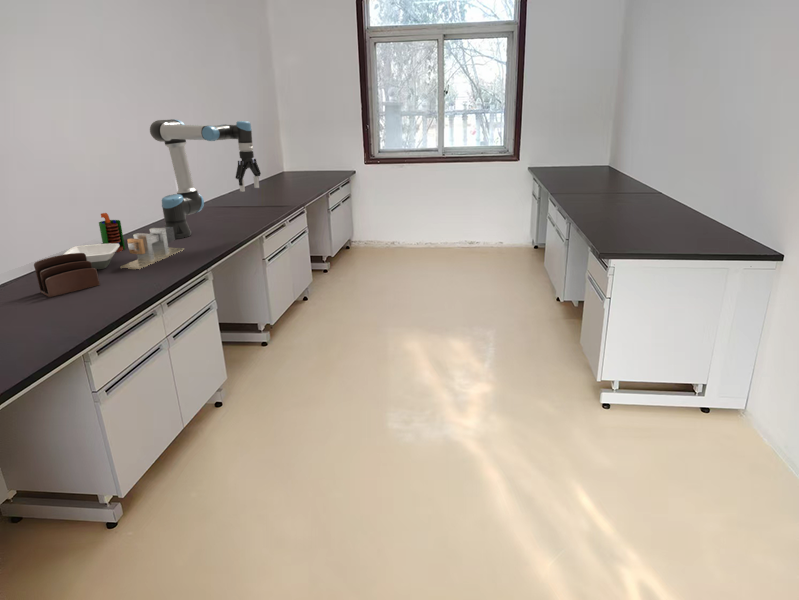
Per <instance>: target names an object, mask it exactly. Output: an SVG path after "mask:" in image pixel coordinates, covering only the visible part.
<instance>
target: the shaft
mask: <svg viewBox="0 0 799 600" xmlns="http://www.w3.org/2000/svg"><path fill="white" fill-rule="evenodd" d="M161 228H165V229H166V235H167V241H168V244H169V243H172V242H175V241H176V239H175V236H174V230H173V227H165V226H162V227H161ZM150 237H151V243H154V242H157V241H159V240H160V234H153V235H150ZM143 243H144V240H143ZM144 246H145V245H144ZM127 247H128V251H129V250H136V249H138V248H139V244H138V242H130V243H128V242H127Z"/></svg>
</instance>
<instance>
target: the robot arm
mask: <svg viewBox="0 0 799 600" xmlns="http://www.w3.org/2000/svg"><path fill="white" fill-rule="evenodd" d="M149 126H150V127H149V133H150V135H151V137H152V138H153V139H154V140H155V141H157V142H160V143H161V142H164V145H165V146H166V147H167V148H168V150H169V155H170V158H171V163H172V166H173V171H174V175H175V180H176V183H177V184H176V185H177V188H178V190H177V192H176V193H175V194H169V195H166V196H164V197H162V198H161V207H162V213H163V214H162V215H163V219H164V227H173V230H174V236H175V240H176V239H184V237H185V238H188V236H189V237H191V236H192V235H191V234H192V230H191V229H190V227H189V224H188V222H187V216H189V215H193V214H197V213H199V212H201V211H202V210H203V209H204V206H205V199H204V196H203V195H202V194H200V193H199V191H198V189H197V188H195V186H194V182H193V178H192V173H191V169H190V165H189V160H188V156H187V151H186V148H185V147H186V144H187V141H188V140H189V141H191V140H194V141H208V142H215V141H216V142H217V141H223V140H225V141H226V140H237V143H238V151H239V159H241V160H237V167H236V172H235V179H236V180H238V185H239V192H242V193H243V192H246V189H245V179H244V176H245V173H246V172H247V171H246V170H248V169H250V171H251V172H252V174H253V187H254V189H260V182H259V181H260V179H259V178H260V176H261V175H262V173H261V170H260V167H259V165H258V162H257V158H254V157H255V156H254V155H255V154H254V151H253V150H254V146H253V133H252V132H253V131H252V125H251V122H250V121H248V120H246V121H245V120H244V121H242V120H241V121H240V120H239V121H237V122H236V124H220V125H202V124H201V125H198V124H197V125H196V124H195V125H194V124H192V125H191V124H188V125H187V124H185V122H183V121H182V120H179V119H157V120H154V121H153V122H152V123H151V124H150V125H149ZM190 235H191V236H190Z"/></svg>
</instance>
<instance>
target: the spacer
mask: <svg viewBox="0 0 799 600" xmlns="http://www.w3.org/2000/svg"><path fill="white" fill-rule="evenodd" d="M126 240H127V244H128V243H130V242H138V244H139V249H140V250H136V249H135V250H129V249H128V251H129V254H131V255H137V254H145V248H144V243H143V239H134V237H133V238H127V239H126Z"/></svg>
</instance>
